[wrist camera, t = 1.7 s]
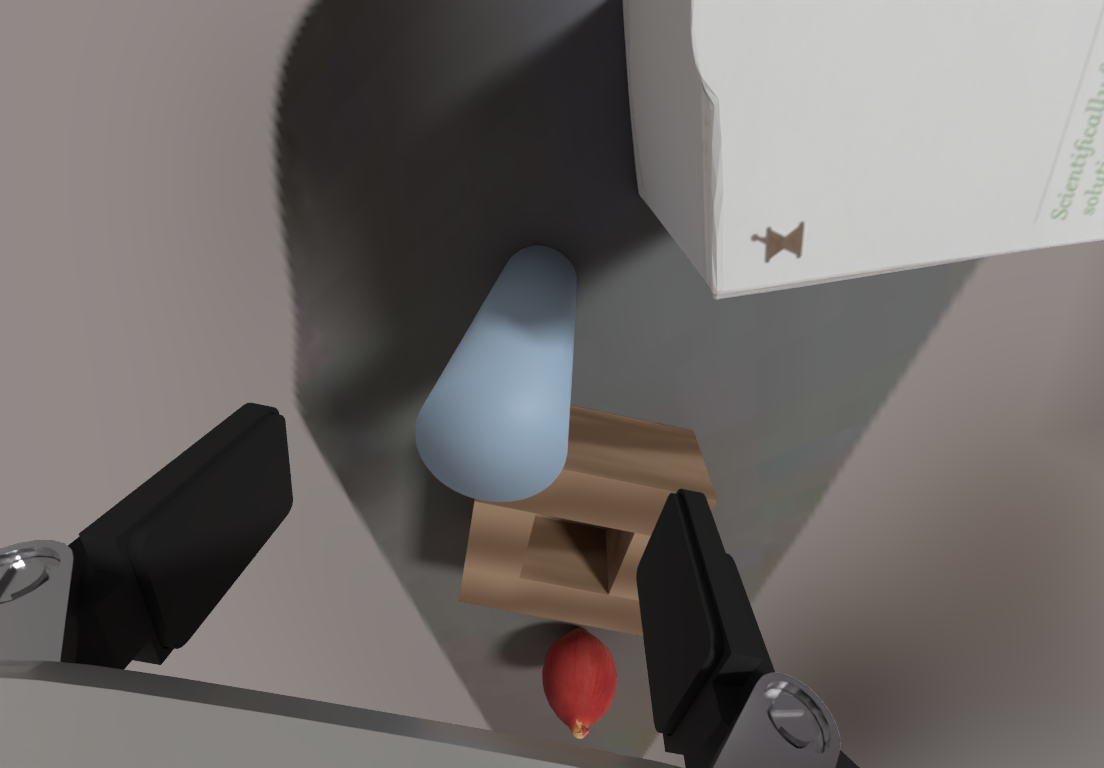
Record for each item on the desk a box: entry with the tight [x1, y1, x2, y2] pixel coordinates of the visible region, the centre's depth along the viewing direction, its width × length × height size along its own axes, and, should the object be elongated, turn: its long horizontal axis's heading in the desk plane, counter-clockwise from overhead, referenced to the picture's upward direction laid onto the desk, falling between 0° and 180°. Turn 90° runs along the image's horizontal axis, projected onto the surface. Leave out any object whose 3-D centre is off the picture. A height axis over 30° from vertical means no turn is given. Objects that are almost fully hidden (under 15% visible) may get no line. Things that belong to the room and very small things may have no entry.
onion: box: [542, 627, 617, 739], centre depth 35 cm, size 6×6×8 cm
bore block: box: [459, 405, 718, 636], centre depth 28 cm, size 12×12×6 cm
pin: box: [415, 245, 577, 502], centre depth 18 cm, size 4×4×14 cm
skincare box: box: [623, 0, 1104, 299], centre depth 12 cm, size 8×7×16 cm
